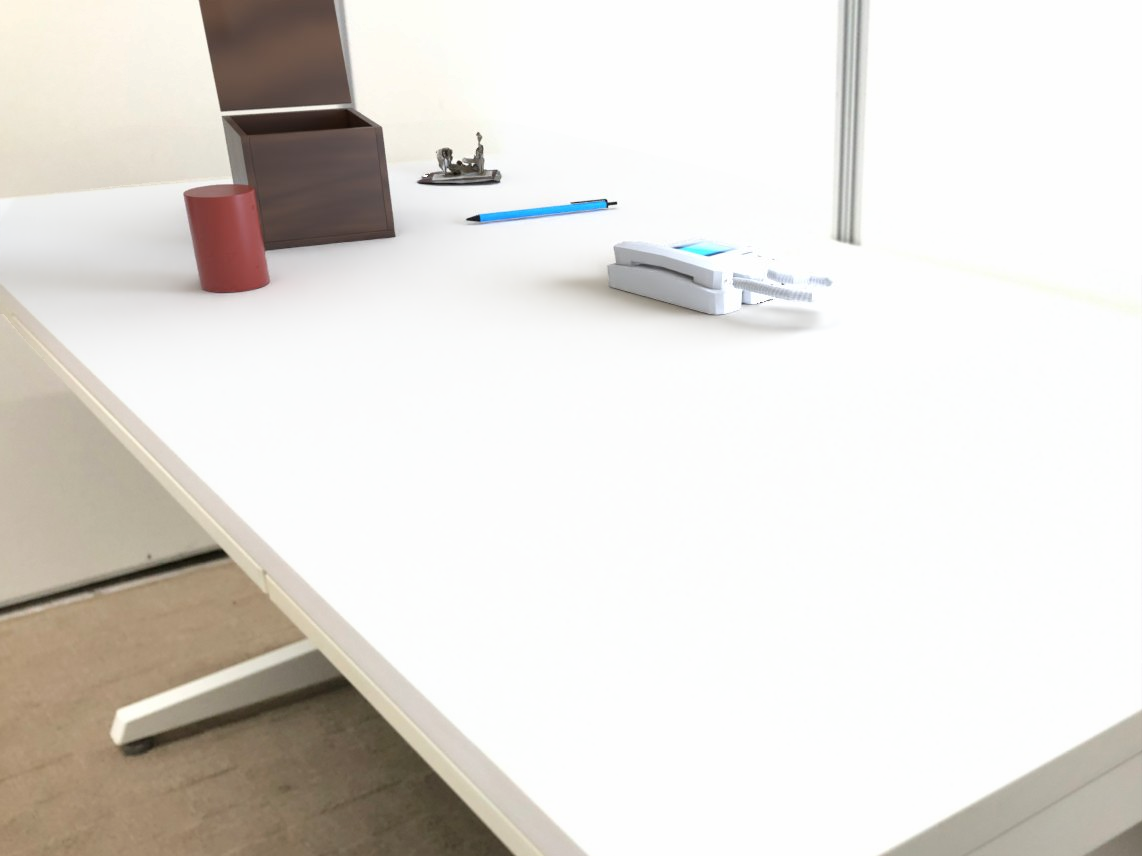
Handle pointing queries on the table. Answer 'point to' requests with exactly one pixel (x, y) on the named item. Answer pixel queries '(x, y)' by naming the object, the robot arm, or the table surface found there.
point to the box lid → (275, 53)
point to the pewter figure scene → (461, 168)
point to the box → (313, 175)
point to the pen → (543, 210)
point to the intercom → (714, 275)
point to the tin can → (227, 237)
